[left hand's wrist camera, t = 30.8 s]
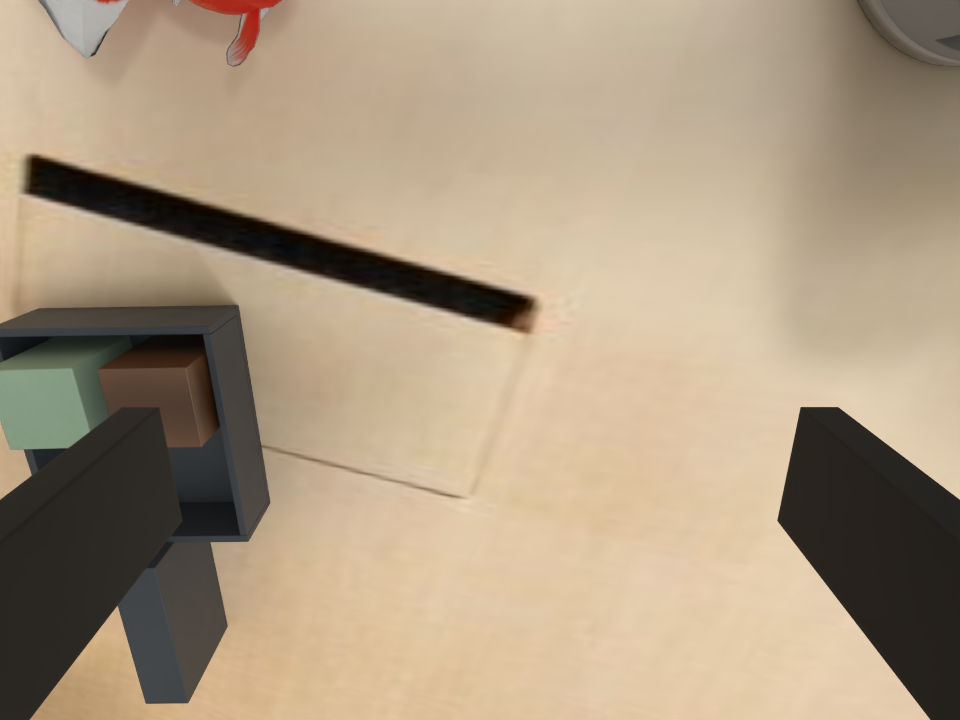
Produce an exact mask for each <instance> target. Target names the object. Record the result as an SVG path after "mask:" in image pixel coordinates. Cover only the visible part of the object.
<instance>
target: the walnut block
mask: <svg viewBox="0 0 960 720" xmlns="http://www.w3.org/2000/svg"><path fill="white" fill-rule="evenodd" d="M97 372H98V375H99V379H100V383H101V387H102V391H103V394H104V398H105V402H106V406H107V410H108V414H109V417H110V416H111V415H112V414H114V413H115V412H116V411H118V410H119V409H120V408H121V407H159V408H160V413H161V418H162V423H163V428H164V433H165V438H166V442H167V447H168V448H169V447H202V446H203V445H204V444H205V443H206V442H207V441H208V440H209V438H210V437H211V436H212V435H213V434H214V433H215V432H216V431H217V429H218V428H219V427H220V424H219V418H218V413H217V408H216V402H215V397H214V391H213V386H212V381H211V375H210V370H209V365H208V359H207V354H206V348H205V343H204V338H203V335H177V336H151V337H149V338H148V339H146V340H144V341H143V342H141V343H139V344H138V345H136V346H135V347H133V348H131V349H130V350H128V351H126V352H125V353H123V354H122V355H120V356H118V357H117V358H115V359H113V360H112V361H110V362H109V363H107V364H105V365H104V366H102V367H100V368H99V369H97Z"/></svg>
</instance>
